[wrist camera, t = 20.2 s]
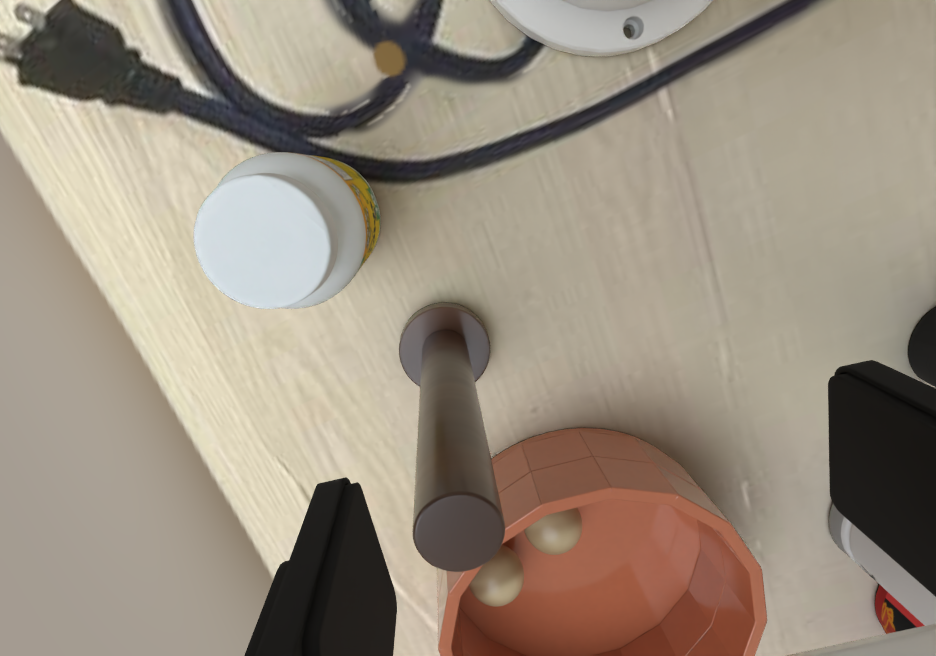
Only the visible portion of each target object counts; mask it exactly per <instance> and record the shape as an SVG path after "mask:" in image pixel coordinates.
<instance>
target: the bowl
mask: <svg viewBox="0 0 936 656" xmlns="http://www.w3.org/2000/svg"><path fill="white" fill-rule="evenodd" d="M491 461H492V465H493V470H494V475H495V479H496V484H497V489H498V494H499V498H500V503H501V508H502V512H503V517H504V522H505V536H504V540H503V543H502V545H504V546H507V547H509V548H510V549H512V550H513V551H514V552H515V553H516V554H517V555H518V557H519V558H520V560H521V563H522V565H523V569H524V583H523V586H522V589H521V591H520V593H519V595H518V596H517V597H516V598H515V599H514V600H513V601H512V602H510V603H508V604H506V605H504V606H498V607H494V606H489V605H486V604H484V603H482V602H480V601H479V600H478V599H477V598H476V597H475V596H474V595H473V593H472V592H471V590H470V588H469V584H470V583H471V581H472V580H473V579H474V577H475V576H476V574H477V573H478V571H479V570H480V569H481V567H482V566H483V565H482V566H480V567H478V568H476V569H472V570H469V571H463V572H451V571H446V570H442V569H439V568H437V603H438V650H439V653H440V656H755V654H756V651H757V648H758V645H759V643H760V640H761V637H762V634H763V631H764V629H765V626H766V623H767V614H766V604H765V595H764V585H763V576H762V569H761V566H760V565H759V564H758V562H757V561H756V559H755V558H754V556H753V555H752V553H751V552H750V550H749V549H748V547H747V546H746V545H745V543H744V542H743V540H742V539H741V537H740V536H739V534H738V533H737V531H736V530H735V528H734V527H733V526H732V524H731V523H730V522H729V521H728V519H727V518H726V517H725V516H724V515H723V514H722V512H721V511H720V510H719V509H718V508H717V507H716V506H715V504H714V503H713V502H712V501H711V500H710V499H709V497H708V496H707V495H706V494H705V493H704V492H703V490H702V489H701V488H700V487H699V486H698V485H697V483H696V482H695V481H694V480H693V479H692V478H691V477H690V475H689V474H688V473H687V472H686V471H685V470H684V468H683V467H682V466H681V465H680V464H679V463H678V462H676V461H675V460H673V459H671V458H670V457H669V456H667V455H666V454H665V453H664V452H662V451H661V450H659V449H658V448H656V447H655V446H653V445H651V444H649V443H647V442H645V441H643V440H641V439H639V438H637V437H634V436H631V435H628V434H624V433H621V432H617V431H611V430H606V429H596V428H574V429H563V430H558V431H553V432H547V433H544V434H541V435H538V436H535V437H531V438H529V439H526V440H524V441H522V442H520V443H517V444H515V445H513V446H511V447H509V448H508V449H506V450H504V451H503V452H501V453H499V454H498V455H496V456H495V457H494V458H492V459H491ZM573 508H578V510H579V512H580V514H581V518H582V533H581V536H580V539H579V541H578V542H577V544H576V545H575V546H574V547H573V548H572V549H571V550H569V551H567V552H566V553H563V554H559V555H550V554H546V553H543V552H541V551H539V550H537V549H536V548H535V547H534V546H533V545H532V544H531V543H530V542H529V540H528V538H527V537H526V534H525V531H524V530H525V529H526V528H528V527H529V526H531V525H532V524H534V523H535V522H537V521H538V520H540V519H541V518H543V517H544V516H546V515H548V514H552V513H557V512H561V511H565V510H569V509H573Z"/></svg>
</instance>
